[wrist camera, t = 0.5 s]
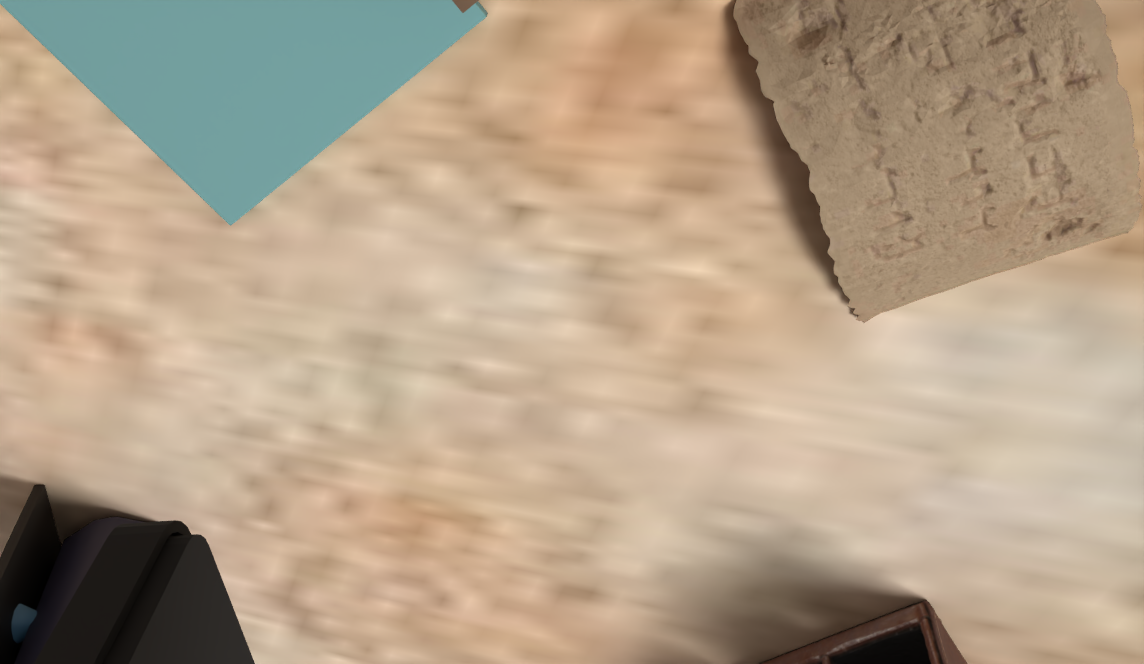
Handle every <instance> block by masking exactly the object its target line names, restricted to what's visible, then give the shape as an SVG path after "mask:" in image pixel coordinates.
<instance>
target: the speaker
mask: <svg viewBox="0 0 1144 664" xmlns="http://www.w3.org/2000/svg"><path fill="white" fill-rule="evenodd" d="M127 523H144V522H142V521H136V520H131V519H126V518H120V517H111V518H105V519H99V520H94V521H93V522H91V523H90V524H88V525H87V526H85V527H84V528H82V529H81V530H79V531H78V532H76V533H75V534H73V535H72V536H70V537H68V538H67V539H65V540H64V542H63V544H62V547H61V543H60V540H59V536H58V532H57V529H56V525H55V522H54V518H53V514H52V511H51V507H50V503H49V500H48V496H47V492H46V489H45V485H34V487H33V490H32V492H31V494H30V496H29V498H28V500H27V502H26V504H25V506H24V509H23V511H22V513H21V515H20V517H19V519H18V521H17V523H16V525H15V527H14V530H13V532H12V534H11V536H10V538H9V540H8V542H7V544H6V546H5V548H4V551H3V553H2V555H1V557H0V664H34V662H35V661H36V659H37V657H38V655H39V654H40V652H41V650H42V649H43V647H44V645H45V643H46V642H47V640H48V638H49V637H50V635H51V633H52V631H53V630H54V628H55V626H56V625H57V623H58V621H59V619H60V618H61V616H62V614H63V613H64V611H65V609H66V608H67V606H68V604H69V602H70V601H71V599H72V597H73V596H74V594H75V592H76V590H77V589H78V587H79V585H80V584H81V582H82V580H83V578H84V577H85V575H86V573H87V572H88V570H89V568H90V566H91V565H92V563H93V561H94V560H95V558H96V556H97V554H98V553H99V551H100V549H101V548H102V546H103V544H104V542H105V541H106V539H107V537H108V536H109V534H110V533H111V532H112V531H113V529H114V528H115V527H117V526H119V525H121V524H127Z"/></svg>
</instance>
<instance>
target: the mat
mask: <svg viewBox="0 0 1144 664" xmlns="http://www.w3.org/2000/svg"><path fill="white" fill-rule="evenodd" d="M0 4H1V5H2V6H3V7H4V8H5V9H6V10H7V11H8V12H9V13H10V14H11V15H12V16H13V17H14V18H15V19H17V20H18V21H19V22H20V23H21V24H22V25H23V26H24V27H25V28H26V29H27V30H28V31H29V32H30V33H31V34H32V35H33V36H34V37H35V38H36V39H37V40H38V41H39V42H40V43H41V44H42V45H44V46H45V47H46V48H47V49H48V50H49V51H50V52H51V53H52V54H53V55H54V56H55V57H56V58H57V59H58V60H59V61H60V62H61V63H62V64H63V65H64V66H65V67H66V68H67V69H68V70H69V71H70V72H72V73H73V74H74V75H75V76H76V77H77V78H78V79H79V80H80V81H81V82H82V83H83V84H84V85H85V86H86V87H87V88H88V89H89V90H90V91H91V92H92V93H93V94H94V95H95V96H96V97H97V98H98V99H100V100H101V101H102V102H103V103H104V104H105V105H106V106H107V107H108V108H109V109H110V110H111V111H112V112H113V113H114V114H115V115H116V116H117V117H118V118H119V119H120V120H121V121H122V122H123V123H124V124H125V125H127V126H128V127H129V128H130V129H131V130H132V131H133V132H134V133H135V134H136V135H137V136H138V137H139V138H140V139H141V140H142V141H143V142H144V143H145V144H146V145H147V146H148V147H149V148H150V149H151V150H152V151H153V152H155V153H156V154H157V155H158V156H159V157H160V158H161V159H162V160H163V161H164V162H165V163H166V164H167V165H168V166H169V167H170V168H171V169H172V170H173V171H174V172H175V173H176V174H177V175H178V176H179V177H180V178H182V179H183V180H184V181H185V182H186V183H187V184H188V185H189V186H190V187H191V188H192V189H193V190H194V191H195V192H196V193H197V194H198V195H199V196H200V197H201V198H202V199H203V200H204V201H205V202H206V203H207V204H208V205H210V206H211V207H212V208H213V209H214V210H215V211H216V212H217V213H218V214H219V215H220V216H221V217H222V218H223V219H224V220H225V221H226V222H227V223H228V224H229V225H230V226H231V225H232V224H233V223H235V222H236V221H237V220H238V219H239V218H241V217H242V216H243V215H244V214H246V213H247V212H248V211H249V210H250V209H252V208H253V207H254V206H255V205H257V204H258V203H259V202H260V201H262V200H263V199H264V198H265V197H266V196H268V195H269V194H270V193H271V192H273V191H274V190H275V189H276V188H277V187H279V186H280V185H281V184H282V183H284V182H285V181H286V180H287V179H288V178H290V177H291V176H292V175H293V174H295V173H296V172H297V171H298V170H299V169H301V168H302V167H303V166H304V165H306V164H307V163H308V162H309V161H310V160H312V159H313V158H314V157H315V156H317V155H318V154H319V153H320V152H322V151H323V150H324V149H325V148H326V147H328V146H329V145H330V144H331V143H333V142H334V141H335V140H336V139H337V138H339V137H340V136H341V135H342V134H344V133H345V132H346V131H347V130H348V129H350V128H351V127H352V126H353V125H355V124H356V123H357V122H358V121H359V120H361V119H362V118H363V117H364V116H366V115H367V114H368V113H369V112H370V111H372V110H373V109H374V108H375V107H377V106H378V105H379V104H380V103H381V102H383V101H384V100H385V99H386V98H388V97H389V96H390V95H391V94H393V93H394V92H395V91H396V90H397V89H399V88H400V87H401V86H402V85H404V84H405V83H406V82H407V81H408V80H410V79H411V78H412V77H413V76H415V75H416V74H417V73H418V72H419V71H421V70H422V69H423V68H424V67H426V66H427V65H428V64H429V63H430V62H432V61H433V60H434V59H435V58H437V57H438V56H439V55H440V54H441V53H443V52H444V51H445V50H446V49H448V48H449V47H450V46H451V45H453V44H454V43H455V42H456V41H457V40H459V39H460V38H461V37H462V36H464V35H465V34H466V33H467V32H468V31H470V30H471V29H472V28H473V27H475V26H476V25H477V24H478V23H479V22H481V21H482V20H483V19H484V18H486V17H487V14H488V13H487V12H486V10H485V9H484V8H483V7H482V6H481V4H480V3H479V2H478V1H477V2H476V3H475V4H474V5H473V6H471V7H470V8H469V9H468V10H466V11H465V12H464V13H462V12H461V11H460V9H459V8H458V7H457V6H456V5H455V3H454V2H453V1H452V0H0Z"/></svg>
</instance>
